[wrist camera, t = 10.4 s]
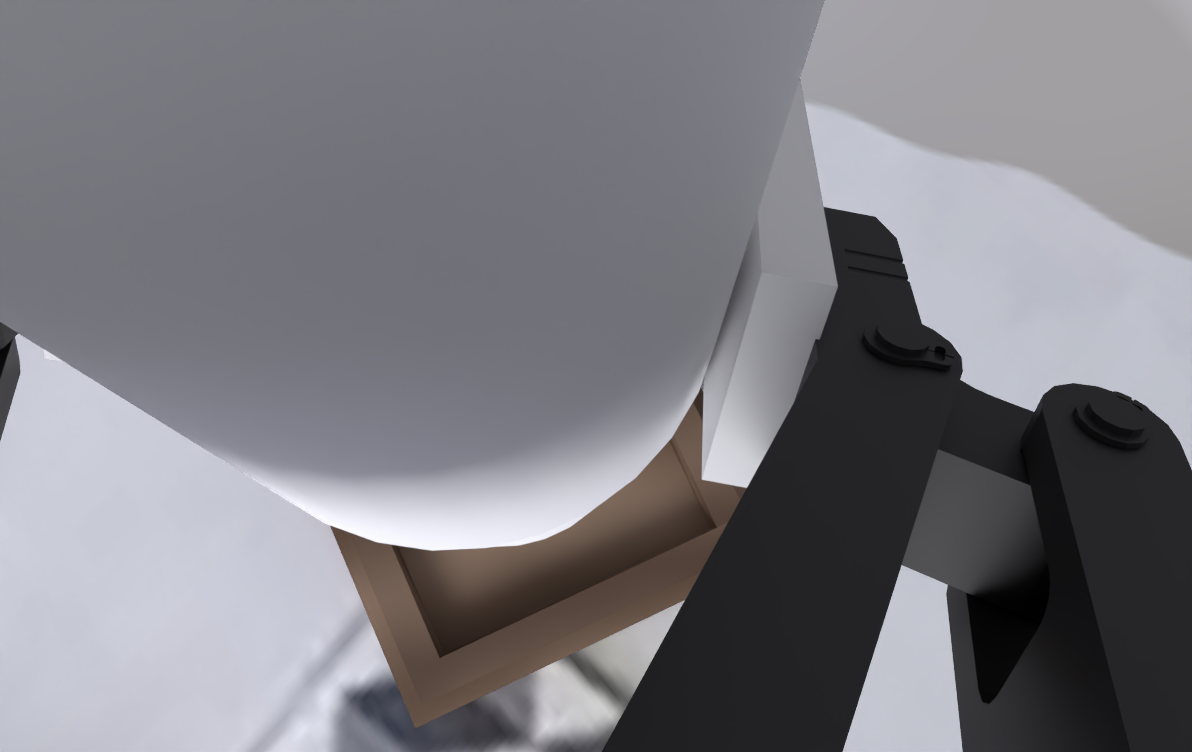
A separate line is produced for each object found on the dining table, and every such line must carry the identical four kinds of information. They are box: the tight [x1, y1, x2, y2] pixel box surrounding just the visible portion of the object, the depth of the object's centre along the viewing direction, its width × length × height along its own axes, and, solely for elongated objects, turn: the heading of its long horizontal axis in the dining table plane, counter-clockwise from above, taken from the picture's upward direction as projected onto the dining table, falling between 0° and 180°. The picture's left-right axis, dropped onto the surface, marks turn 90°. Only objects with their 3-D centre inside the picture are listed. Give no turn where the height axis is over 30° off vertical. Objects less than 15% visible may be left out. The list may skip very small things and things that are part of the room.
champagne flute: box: [0, 0, 824, 551], centre depth 14 cm, size 7×7×24 cm
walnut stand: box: [330, 387, 747, 728], centre depth 40 cm, size 15×15×3 cm
